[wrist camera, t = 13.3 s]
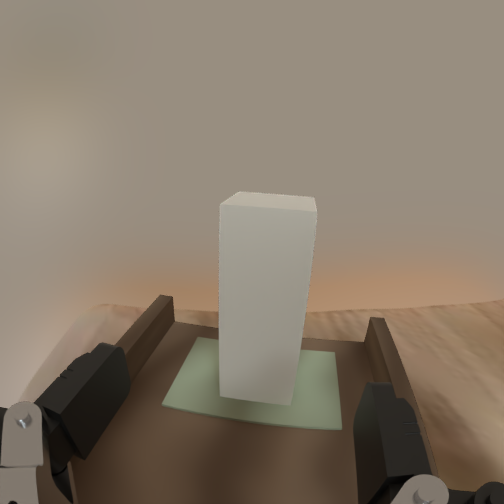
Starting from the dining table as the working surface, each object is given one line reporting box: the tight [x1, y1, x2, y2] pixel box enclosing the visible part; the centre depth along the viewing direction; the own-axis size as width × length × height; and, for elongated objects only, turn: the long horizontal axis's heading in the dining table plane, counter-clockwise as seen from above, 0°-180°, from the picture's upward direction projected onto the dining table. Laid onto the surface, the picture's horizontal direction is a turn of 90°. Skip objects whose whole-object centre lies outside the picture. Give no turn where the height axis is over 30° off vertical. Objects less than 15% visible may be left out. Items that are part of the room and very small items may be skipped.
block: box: [219, 192, 317, 406], centre depth 18 cm, size 4×4×12 cm
